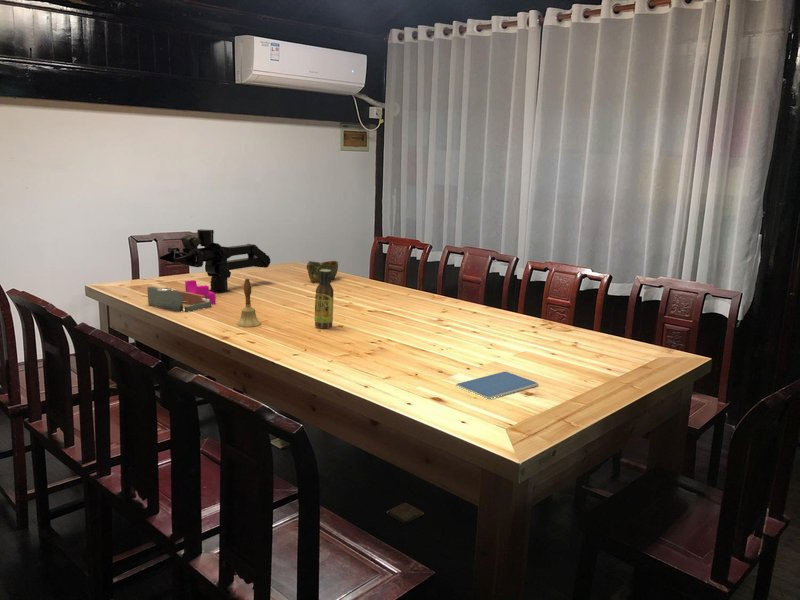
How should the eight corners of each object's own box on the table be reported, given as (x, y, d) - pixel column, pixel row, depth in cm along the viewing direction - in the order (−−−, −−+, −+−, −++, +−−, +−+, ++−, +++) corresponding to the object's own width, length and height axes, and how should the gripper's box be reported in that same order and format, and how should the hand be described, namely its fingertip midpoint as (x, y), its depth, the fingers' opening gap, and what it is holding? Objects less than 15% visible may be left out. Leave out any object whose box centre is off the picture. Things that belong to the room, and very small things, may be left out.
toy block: (215, 304, 254) (214, 285, 252) (199, 306, 250) (199, 287, 248) (200, 297, 265) (200, 279, 264) (185, 299, 262) (185, 280, 260)
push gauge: (174, 298, 260) (173, 280, 259) (211, 307, 248) (210, 287, 247) (141, 305, 248) (140, 285, 247) (178, 313, 236) (177, 293, 235)
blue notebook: (488, 402, 160) (488, 397, 159) (453, 387, 169) (453, 383, 169) (539, 387, 171) (540, 383, 171) (504, 374, 181) (505, 370, 181)
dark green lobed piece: (296, 279, 309) (296, 258, 307) (334, 277, 320) (334, 256, 318) (308, 284, 299) (308, 262, 297) (346, 281, 310) (347, 260, 307)
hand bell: (236, 327, 220) (235, 281, 217) (236, 321, 228) (235, 277, 224) (261, 326, 222) (261, 280, 219) (260, 321, 230) (259, 276, 227)
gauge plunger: (176, 298, 258) (175, 288, 257) (210, 305, 247) (209, 295, 246) (173, 298, 257) (172, 288, 256) (206, 306, 246) (206, 295, 245)
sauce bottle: (311, 327, 223) (311, 270, 218) (320, 323, 228) (320, 267, 224) (327, 330, 220) (328, 272, 216) (336, 326, 226) (336, 269, 222)
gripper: (184, 233, 270) (151, 236, 257) (214, 237, 260) (181, 240, 247) (185, 260, 272) (152, 264, 259) (215, 265, 262) (183, 269, 249)
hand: (167, 259), depth 254 cm, fingers open, 9 cm apart
